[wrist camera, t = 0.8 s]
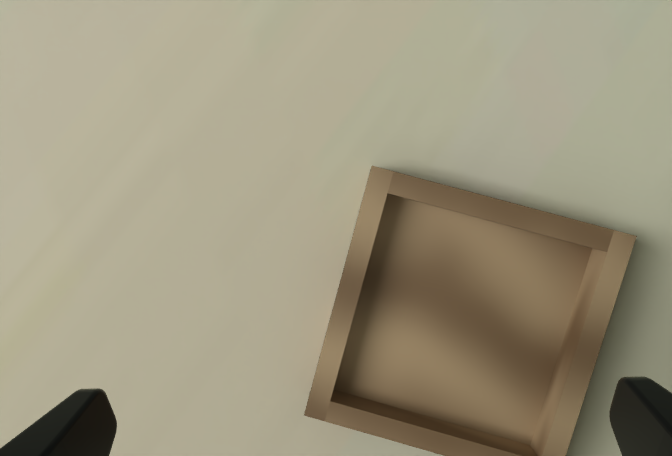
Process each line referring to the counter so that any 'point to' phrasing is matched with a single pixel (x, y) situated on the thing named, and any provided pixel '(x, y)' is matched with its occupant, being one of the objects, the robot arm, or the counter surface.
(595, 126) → the counter surface
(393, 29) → the counter surface
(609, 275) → the tray
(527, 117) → the counter surface
